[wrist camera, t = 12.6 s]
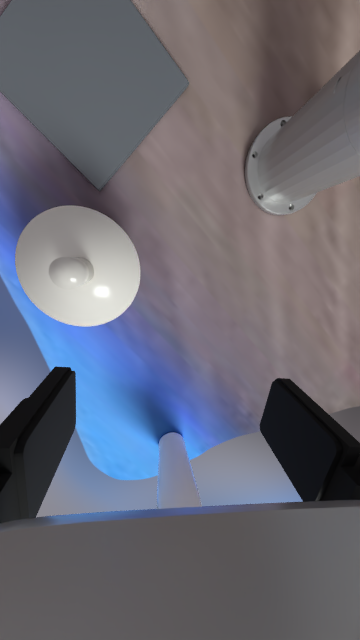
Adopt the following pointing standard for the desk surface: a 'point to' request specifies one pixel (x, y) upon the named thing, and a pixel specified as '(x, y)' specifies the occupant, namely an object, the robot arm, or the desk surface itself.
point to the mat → (87, 78)
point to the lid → (77, 265)
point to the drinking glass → (175, 475)
